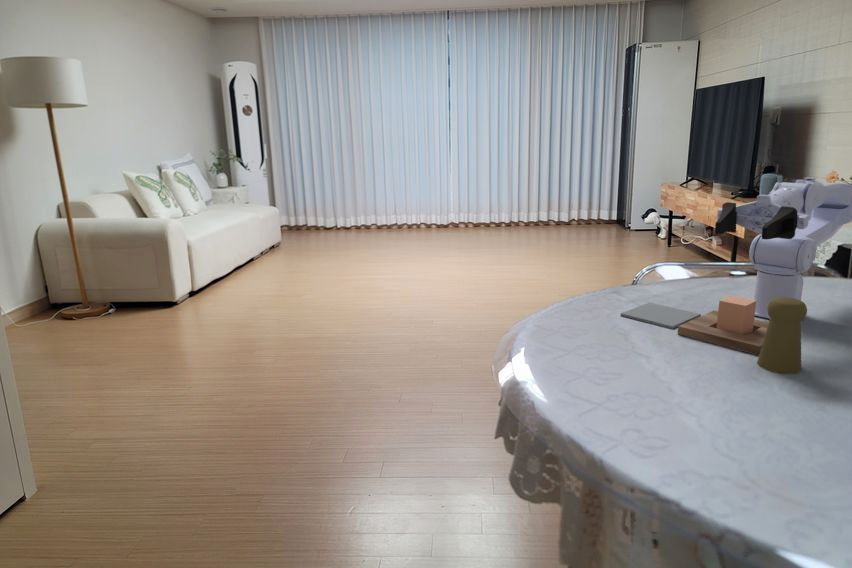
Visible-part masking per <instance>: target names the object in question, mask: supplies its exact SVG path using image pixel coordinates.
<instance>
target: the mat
mask: <svg viewBox="0 0 852 568" xmlns="http://www.w3.org/2000/svg"><path fill="white" fill-rule="evenodd" d="M620 316H621V317H624V318H628V319H633V320H636V321H640V322H644V323H647V324H651V325H655V326H660V327H664V328H668V329H671V330H672V329H676V328H678V326H680V325H682V324H684V323H687V322H689V321H691V320H693V319H696V318H698V317H700V316H702V314H701V313H698V312H695V311H694V312H693V311H690V310H686V309H685V310H684V309H680V308H676V307H671V306H667V305H662V304H657V303H653V302H647V303H645V304H643V305H639V306H636V307H634V308H632V309H629V310H627V311H624V312H621V313H620Z"/></svg>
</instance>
